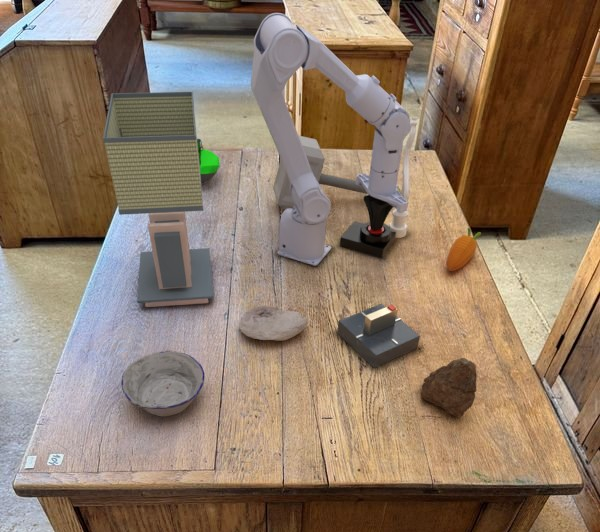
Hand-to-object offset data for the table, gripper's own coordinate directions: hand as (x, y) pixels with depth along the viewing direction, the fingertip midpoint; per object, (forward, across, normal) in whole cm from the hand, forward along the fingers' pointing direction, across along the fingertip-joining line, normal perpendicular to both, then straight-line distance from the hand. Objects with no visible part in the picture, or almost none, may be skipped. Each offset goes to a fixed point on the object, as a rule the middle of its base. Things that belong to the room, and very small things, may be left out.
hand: (376, 228), depth 124 cm
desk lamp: (+4, +9, +43) cm, 45 cm away
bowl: (+4, -19, +58) cm, 61 cm away
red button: (+2, 0, 0) cm, 2 cm away
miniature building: (+4, +47, +20) cm, 51 cm away
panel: (+4, -26, +20) cm, 33 cm away
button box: (+4, +1, +1) cm, 4 cm away
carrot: (+2, -18, -5) cm, 19 cm away
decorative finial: (+4, +2, -8) cm, 9 cm away
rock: (+4, -45, +20) cm, 49 cm away
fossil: (+4, -14, +35) cm, 38 cm away
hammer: (+4, +19, -4) cm, 20 cm away
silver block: (+1, -26, +20) cm, 33 cm away
